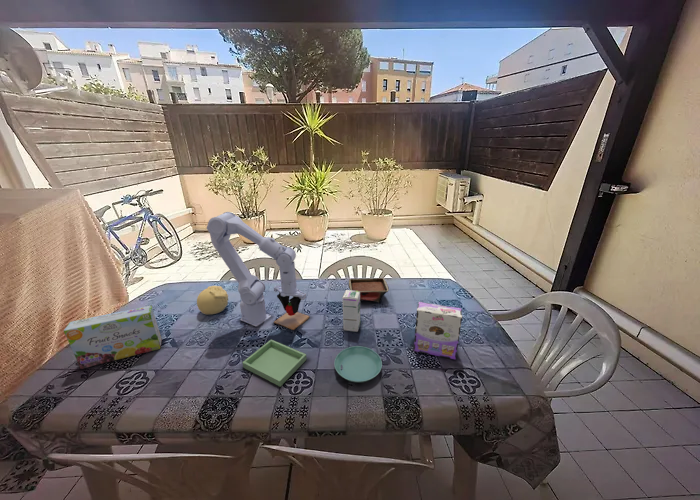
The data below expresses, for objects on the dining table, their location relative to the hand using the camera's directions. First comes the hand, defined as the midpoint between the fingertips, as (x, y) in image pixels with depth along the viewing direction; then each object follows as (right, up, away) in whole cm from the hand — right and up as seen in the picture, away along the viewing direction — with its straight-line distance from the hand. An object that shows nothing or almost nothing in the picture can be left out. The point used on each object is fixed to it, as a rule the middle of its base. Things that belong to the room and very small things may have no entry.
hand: (291, 310), depth 107 cm
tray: (-1, -13, -21) cm, 24 cm away
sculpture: (-35, -2, +9) cm, 36 cm away
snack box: (-53, -11, -16) cm, 56 cm away
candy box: (+52, -10, -15) cm, 55 cm away
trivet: (0, -4, +2) cm, 5 cm away
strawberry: (0, -1, +1) cm, 1 cm away
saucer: (+26, -13, -22) cm, 37 cm away
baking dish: (+32, +2, +18) cm, 37 cm away
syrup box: (+24, -6, -2) cm, 25 cm away
